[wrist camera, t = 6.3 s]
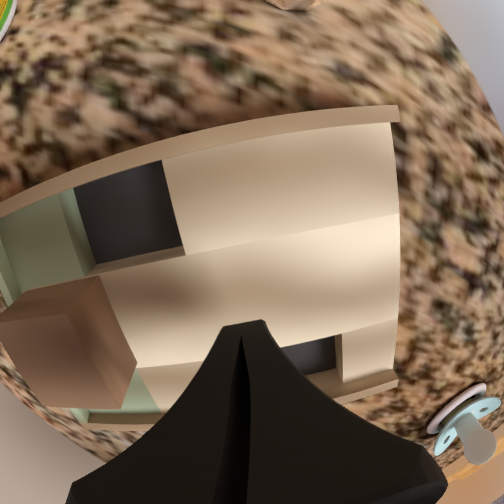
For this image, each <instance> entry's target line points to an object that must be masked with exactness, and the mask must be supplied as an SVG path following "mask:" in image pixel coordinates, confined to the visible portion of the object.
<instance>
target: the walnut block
mask: <svg viewBox="0 0 504 504" xmlns="http://www.w3.org/2000/svg"><path fill="white" fill-rule="evenodd" d="M0 341H1V343H2V344H3V346H4V348H5V350H6V351H7V353H8V355H9V357H10V358H11V360H12V361H13V363H14V365H15V366H16V368H17V369H18V371H19V373H20V374H21V376H22V377H23V379H24V380H25V382H26V383H27V385H28V386H29V387H30V389H31V390H32V392H33V393H34V395H35V396H36V397H37V399H38V400H39V401H40V403H41V404H42V405H43V406H51V407H63V408H79V409H121V407H122V404H123V401H124V398H125V396H126V393H127V390H128V387H129V384H130V382H131V379H132V376H133V373H134V371H135V368H136V365H137V363H138V362H137V360H136V358H135V356H134V354H133V352H132V350H131V348H130V346H129V344H128V342H127V340H126V338H125V336H124V334H123V331H122V329H121V327H120V325H119V323H118V320H117V318H116V316H115V313H114V311H113V309H112V306H111V304H110V302H109V299H108V297H107V294H106V292H105V289H104V287H103V284H102V281H101V279H100V276H99V275H98V276H93V277H88V278H84V279H79V280H74V281H70V282H65V283H60V284H56V285H51V286H46V287H42V288H37V289H32V290H28V291H26V292H24V293H23V294H22V295H21V296H20V297H19V298H18V299H17V300H16V301H14V302H13V303H12V304H11V305H10V306H9V307H8V308H7V309H6V310H5V311H4V312H3V313H2V314H0Z"/></svg>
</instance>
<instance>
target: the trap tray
mask: <svg viewBox="0 0 504 504" xmlns="http://www.w3.org/2000/svg"><path fill="white" fill-rule="evenodd" d="M390 122H400V116H399V110H398V105H382V106H361V107H347V108H335V109H324V110H315V111H306V112H298V113H291V114H284V115H277V116H270V117H264V118H258V119H253V120H247V121H242V122H237V123H232V124H227V125H222V126H217V127H213V128H208V129H204V130H199V131H195V132H191V133H187V134H183V135H179V136H175V137H172V138H168V139H164V140H161V141H157V142H154V143H150V144H147V145H143V146H140V147H137V148H133V149H130V150H127V151H124V152H121V153H118V154H115V155H112V156H109V157H106V158H103V159H100V160H98V161H95V162H92V163H89V164H87V165H84V166H81V167H79V168H76V169H74V170H71V171H68V172H66V173H63V174H61V175H59V176H56V177H54V178H51V179H49V180H47V181H44V182H42V183H40V184H38V185H35V186H33V187H31V188H29V189H27V190H24V191H22V192H20V193H18V194H16V195H14V196H12V197H10V198H8V199H6V200H4V201H2V202H0V290H1V293H2V295H3V297H4V299H5V302H6V304H7V306H8V307H9V306H10V305H11V304H12V303H13V302H14V301H16V300H17V299H18V298H19V297H20V296H21V295H22V294H23V293H24V292H26V291H28V290H32V289H37V288H42V287H46V286H51V285H56V284H60V283H65V282H70V281H74V280H79V279H84V278H88V277H93V276H98V275H99V276H100V279H101V281H102V284H103V287H104V289H105V292H106V294H107V297H108V299H109V302H110V304H111V306H112V309H113V311H114V313H115V316H116V318H117V320H118V323H119V325H120V327H121V329H122V331H123V334H124V336H125V338H126V340H127V342H128V344H129V346H130V348H131V350H132V352H133V354H134V356H135V358H136V360H137V362H138V363H137V365H136V368H135V371H134V373H133V376H132V379H131V382H130V384H129V387H128V390H127V393H126V396H125V398H124V401H123V404H122V407H121V409H79V408H69V409H70V410H71V412H72V413H73V414H74V416H75V417H76V418H77V419H78V421H79V422H80V423H81V425H82V426H83V427H84V428H85V429H97V430H116V431H148V430H149V429H150V428H151V427H152V426H154V425H155V424H156V423H157V422H158V421H159V420H160V419H161V418H162V417H163V416H164V415H165V414H166V412H167V411H168V410H169V409H170V408H171V407H172V405H173V404H174V403H175V402H176V401H177V399H178V398H179V397H180V396H181V394H182V393H183V392H184V390H185V389H186V387H187V386H188V384H189V383H190V382H191V380H192V379H193V377H194V376H195V374H196V373H197V371H198V370H199V368H200V366H201V365H202V363H203V361H204V360H205V358H206V356H207V355H208V353H209V351H210V349H211V347H212V345H213V344H214V342H215V340H216V338H217V336H218V334H219V332H220V330H221V328H222V327H223V326H227V325H232V324H238V323H243V322H249V321H254V320H259V319H262V320H264V321H266V325H267V327H268V329H269V331H270V333H271V335H272V336H273V338H274V339H275V341H276V342H277V344H278V345H279V347H280V348H281V349H282V350H283V352H284V353H285V354H286V355H287V357H288V358H289V359H290V360H291V361H292V363H293V364H294V365H295V366H296V367H297V368H298V369H299V370H300V371H301V372H302V373H303V374H304V375H305V376H306V377H307V378H308V379H309V380H310V381H311V382H312V383H313V384H315V385H316V386H317V387H318V388H319V389H320V390H322V391H323V392H324V393H325V394H327V395H328V396H329V397H331V398H332V399H333V400H335V401H336V402H337V403H339V404H343V403H347V402H350V401H354V400H357V399H361V398H364V397H367V396H370V395H373V394H377V393H380V392H383V391H386V390H389V389H391V388H394V387H397V385H398V377H397V375H396V374H395V372H394V371H393V362H394V354H395V345H396V335H397V323H398V308H399V288H400V222H399V202H398V188H397V176H396V166H395V157H394V148H393V141H392V134H391V127H390Z"/></svg>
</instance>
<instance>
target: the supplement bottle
mask: <svg viewBox="0 0 504 504" xmlns="http://www.w3.org/2000/svg"><path fill="white" fill-rule="evenodd" d="M16 5H17V0H0V41H1V40H2V38H3V37H4V35H5V33H6V31H7V30H8V28H9V26H10V23H11V21H12V19H13V16H14V13H15V10H16Z"/></svg>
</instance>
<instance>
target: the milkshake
mask: <svg viewBox="0 0 504 504" xmlns="http://www.w3.org/2000/svg"><path fill="white" fill-rule="evenodd" d="M265 1H267V2H269V3H271V4H273V5H275V6H276V7H278V8H280V9H282V10H298V11H308V10H310V9H312V8H314V7H316V6H318V5H319V4H321V3H323V2H325V1H326V0H265Z"/></svg>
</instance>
